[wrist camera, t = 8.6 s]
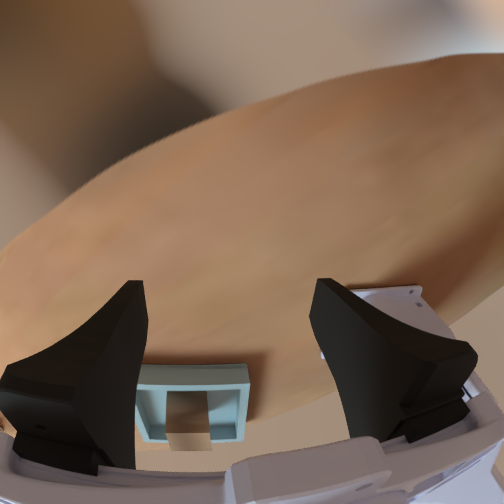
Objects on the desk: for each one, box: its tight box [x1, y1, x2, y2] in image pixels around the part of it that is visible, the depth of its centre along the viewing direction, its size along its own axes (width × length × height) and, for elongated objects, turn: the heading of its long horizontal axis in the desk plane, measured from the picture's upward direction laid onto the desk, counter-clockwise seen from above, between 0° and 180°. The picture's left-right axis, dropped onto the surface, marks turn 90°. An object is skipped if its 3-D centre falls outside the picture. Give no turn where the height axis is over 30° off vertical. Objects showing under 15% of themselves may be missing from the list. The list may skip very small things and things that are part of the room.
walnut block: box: [165, 391, 212, 451], centre depth 26 cm, size 4×4×5 cm
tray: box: [135, 363, 250, 443], centre depth 28 cm, size 12×12×2 cm
